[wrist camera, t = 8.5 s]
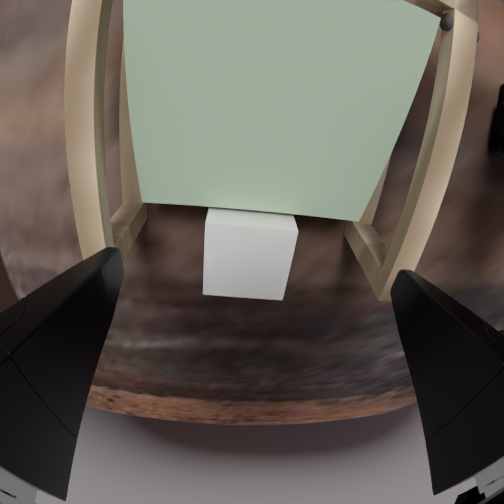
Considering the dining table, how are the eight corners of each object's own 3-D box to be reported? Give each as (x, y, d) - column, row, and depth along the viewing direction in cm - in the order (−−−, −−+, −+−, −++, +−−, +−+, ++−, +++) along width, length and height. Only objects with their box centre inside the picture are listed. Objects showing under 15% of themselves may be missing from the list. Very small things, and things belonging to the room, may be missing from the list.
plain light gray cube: (298, 231, 16) (282, 300, 19) (286, 195, 20) (275, 256, 23) (205, 222, 16) (203, 294, 19) (213, 188, 20) (209, 250, 23)
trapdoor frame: (409, 13, 13) (480, 0, 6) (362, 236, 22) (401, 301, 16) (136, -24, 11) (84, -61, 5) (127, 216, 21) (85, 279, 14)
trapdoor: (430, 14, 8) (441, 18, 8) (355, 210, 18) (358, 221, 18) (133, -32, 7) (124, -32, 6) (146, 191, 17) (142, 202, 17)
